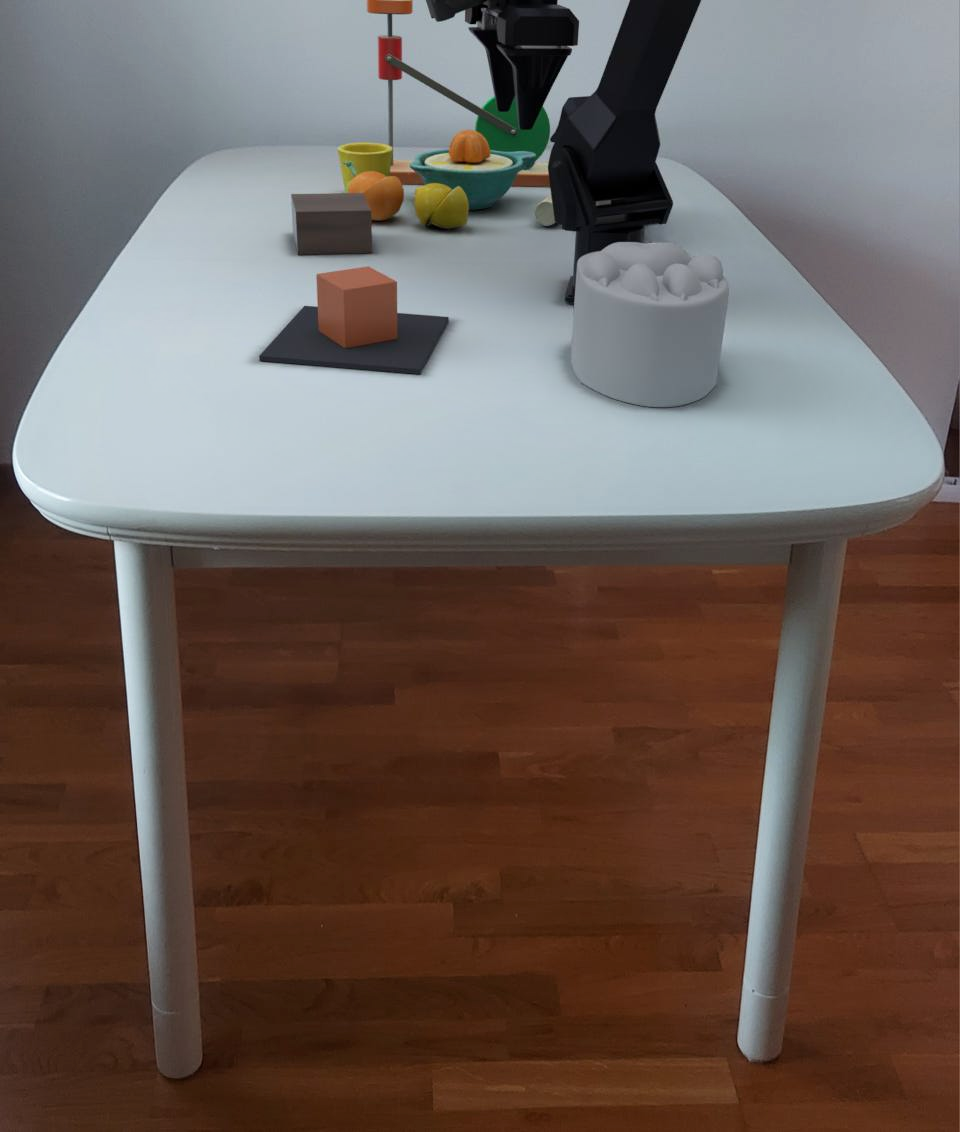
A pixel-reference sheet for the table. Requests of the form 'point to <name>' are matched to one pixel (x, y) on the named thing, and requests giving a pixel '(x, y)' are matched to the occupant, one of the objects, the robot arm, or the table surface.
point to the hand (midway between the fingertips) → (513, 120)
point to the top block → (357, 306)
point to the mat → (398, 355)
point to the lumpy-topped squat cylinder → (648, 323)
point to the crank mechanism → (489, 123)
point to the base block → (331, 223)
